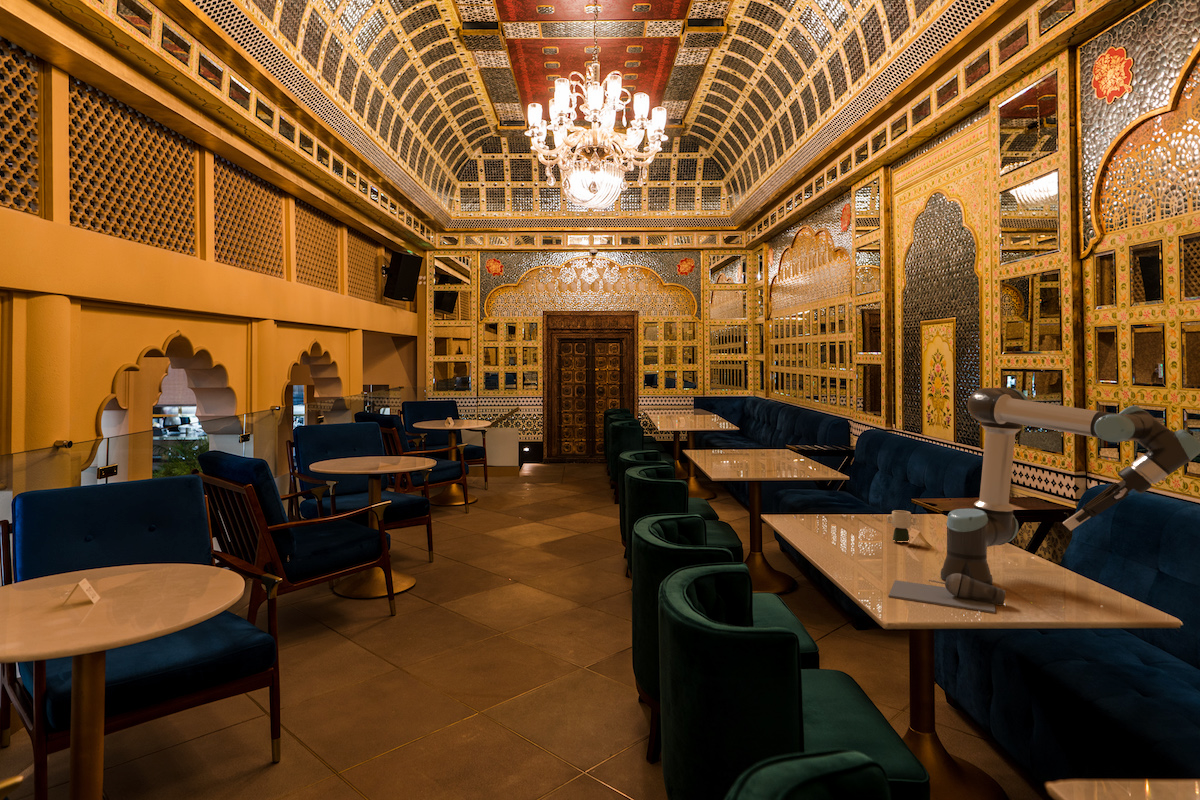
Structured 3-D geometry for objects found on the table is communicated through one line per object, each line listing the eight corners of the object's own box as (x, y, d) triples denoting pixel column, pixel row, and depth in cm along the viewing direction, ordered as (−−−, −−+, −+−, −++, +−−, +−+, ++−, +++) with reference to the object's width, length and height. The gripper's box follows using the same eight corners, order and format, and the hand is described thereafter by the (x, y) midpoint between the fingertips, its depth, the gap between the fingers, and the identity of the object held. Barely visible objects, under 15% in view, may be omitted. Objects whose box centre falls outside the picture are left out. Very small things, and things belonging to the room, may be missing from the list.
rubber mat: (888, 597, 198) (888, 595, 198) (894, 581, 213) (894, 580, 213) (995, 613, 184) (995, 611, 184) (993, 596, 199) (993, 594, 199)
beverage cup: (1006, 592, 186) (930, 570, 196) (1001, 614, 188) (926, 592, 198) (1006, 581, 192) (932, 561, 202) (1001, 603, 194) (928, 582, 204)
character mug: (914, 542, 268) (915, 511, 268) (916, 546, 262) (916, 514, 262) (886, 539, 272) (886, 509, 272) (887, 543, 266) (887, 512, 266)
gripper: (1158, 488, 173) (1079, 541, 183) (1148, 482, 184) (1075, 532, 194) (1133, 467, 176) (1057, 520, 185) (1125, 462, 187) (1054, 512, 196)
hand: (1066, 526), depth 189 cm, fingers closed
